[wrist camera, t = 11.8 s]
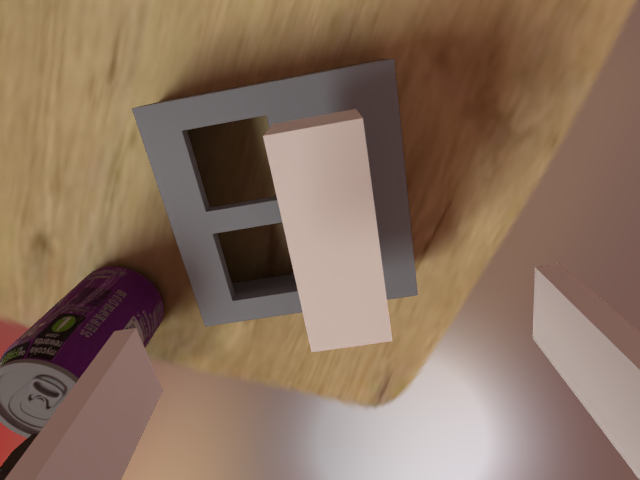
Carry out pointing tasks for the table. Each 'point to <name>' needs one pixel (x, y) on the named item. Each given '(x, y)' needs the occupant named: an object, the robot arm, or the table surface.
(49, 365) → the beverage can
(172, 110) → the keyhole board
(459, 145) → the table surface
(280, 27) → the table surface
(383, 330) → the bar
